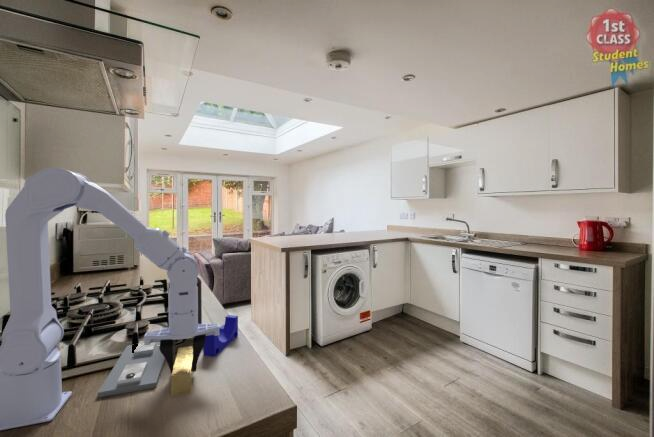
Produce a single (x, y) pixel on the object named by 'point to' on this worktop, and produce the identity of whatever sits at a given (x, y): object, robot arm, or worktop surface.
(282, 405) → the worktop surface
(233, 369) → the worktop surface
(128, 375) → the mounting blocks
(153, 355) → the slate board
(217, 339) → the cable clip
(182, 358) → the link bar
